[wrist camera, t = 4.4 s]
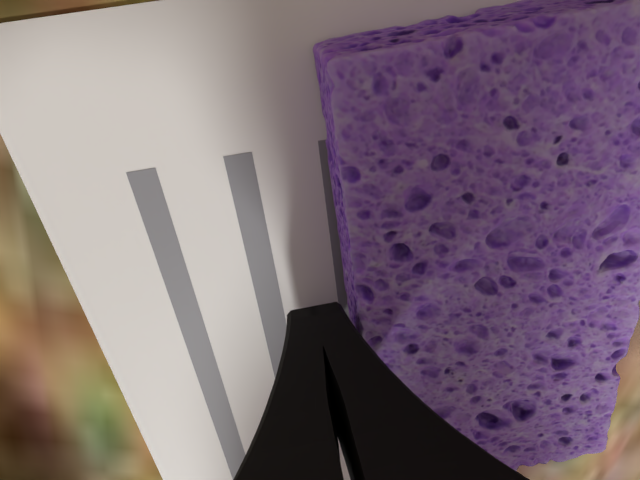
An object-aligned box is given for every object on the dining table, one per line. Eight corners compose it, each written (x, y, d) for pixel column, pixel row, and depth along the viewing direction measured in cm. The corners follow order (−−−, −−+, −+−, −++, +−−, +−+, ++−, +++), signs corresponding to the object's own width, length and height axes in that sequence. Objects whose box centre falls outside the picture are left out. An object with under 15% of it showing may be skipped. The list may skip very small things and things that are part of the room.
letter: (502, 449, 17) (503, 452, 17) (182, 517, 16) (182, 520, 16) (560, -57, 9) (563, -59, 9) (-46, 29, 8) (-49, 30, 8)
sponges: (363, 452, 16) (377, 508, 14) (307, 30, 9) (322, 45, 8) (571, 406, 16) (608, 455, 14) (657, -26, 10) (742, -23, 8)
